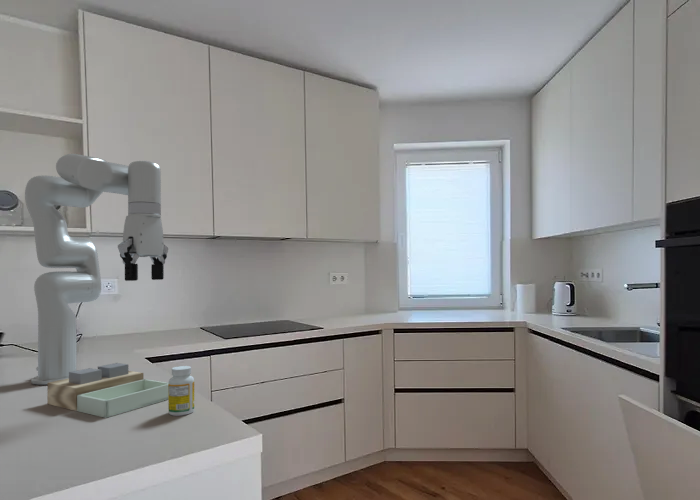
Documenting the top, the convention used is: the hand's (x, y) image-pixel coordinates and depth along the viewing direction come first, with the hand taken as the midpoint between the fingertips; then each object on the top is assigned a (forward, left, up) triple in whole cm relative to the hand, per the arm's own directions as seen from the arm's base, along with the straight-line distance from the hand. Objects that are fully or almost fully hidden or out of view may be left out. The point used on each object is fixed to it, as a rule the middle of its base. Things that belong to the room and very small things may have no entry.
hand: (144, 280), depth 115 cm
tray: (+2, -6, -29) cm, 29 cm away
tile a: (-9, -2, -24) cm, 26 cm away
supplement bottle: (+19, -5, -29) cm, 35 cm away
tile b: (-9, -10, -24) cm, 27 cm away
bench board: (-10, -6, -29) cm, 31 cm away
